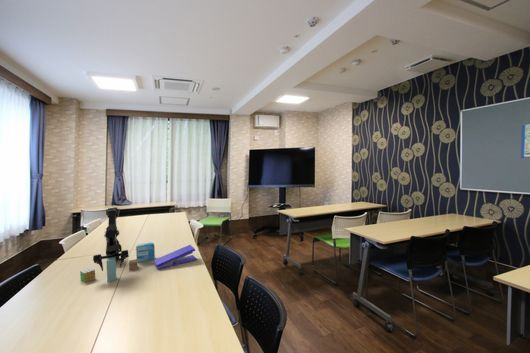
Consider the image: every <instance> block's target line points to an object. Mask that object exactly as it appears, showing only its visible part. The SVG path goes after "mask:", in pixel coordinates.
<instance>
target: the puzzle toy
mask: <svg viewBox="0 0 530 353" xmlns="http://www.w3.org/2000/svg"><path fill="white" fill-rule="evenodd" d="M79 272H80V274H79V275H80V281H82V282H83V283H87V282H91V281H92V280H95V279H96V270H95V269H94V268H92V267H89V268H85V269H83V270H80V271H79Z"/></svg>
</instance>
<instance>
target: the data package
mask: <svg viewBox="0 0 530 353" xmlns="http://www.w3.org/2000/svg"><path fill="white" fill-rule="evenodd" d="M135 247H136V248H135V250H136V252H135V254H136V259H137V263H142V262H148V261H149V262H150V261H154V260H155V259H156V251H155V243H154V242H147V243H145V242H144V243H140V244H139V243H138V244H137V245H136V246H135Z"/></svg>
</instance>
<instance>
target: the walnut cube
mask: <svg viewBox="0 0 530 353" xmlns="http://www.w3.org/2000/svg"><path fill="white" fill-rule="evenodd" d="M128 268H129V271H132V270H137V269H138V268H139V267H138V262H137V258H136V259H130V260H128Z"/></svg>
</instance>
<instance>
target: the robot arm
mask: <svg viewBox="0 0 530 353" xmlns="http://www.w3.org/2000/svg"><path fill="white" fill-rule="evenodd" d="M119 214H120V208H118V207H117V206H116V207H108V208H107V209H105V215H106V216H107V218H108V225H107V227H106V228H105V231H104V235H103V236H104V238H105V242H106V248H105V255H102V254H101V253H100V254H94V255H93V257H92V259H93V260H92V261H93V263H94V264H96V265H99V267H100V269H101V271H102V272H103V271H104V264H103V261H102V260H107V258H112V257H116V262H118V261H119V269H121V267H122V265H123V263H124V261H125V260H127V258H129V250H128V249H125V250H123V247H122V245H121V244H120V241H119V240H118V238H117V237H118V236H119V235H120V230H119V229H118V227H117V218H118V217H119Z"/></svg>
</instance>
